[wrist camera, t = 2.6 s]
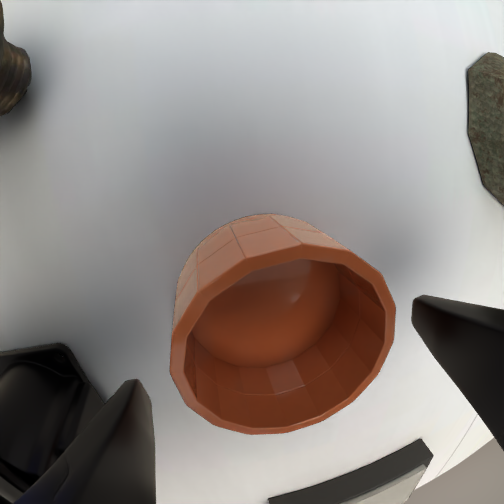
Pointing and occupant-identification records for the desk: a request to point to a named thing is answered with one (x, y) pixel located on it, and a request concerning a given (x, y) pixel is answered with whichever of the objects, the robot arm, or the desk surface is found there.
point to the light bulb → (12, 71)
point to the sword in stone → (488, 120)
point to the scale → (370, 481)
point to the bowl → (276, 326)
